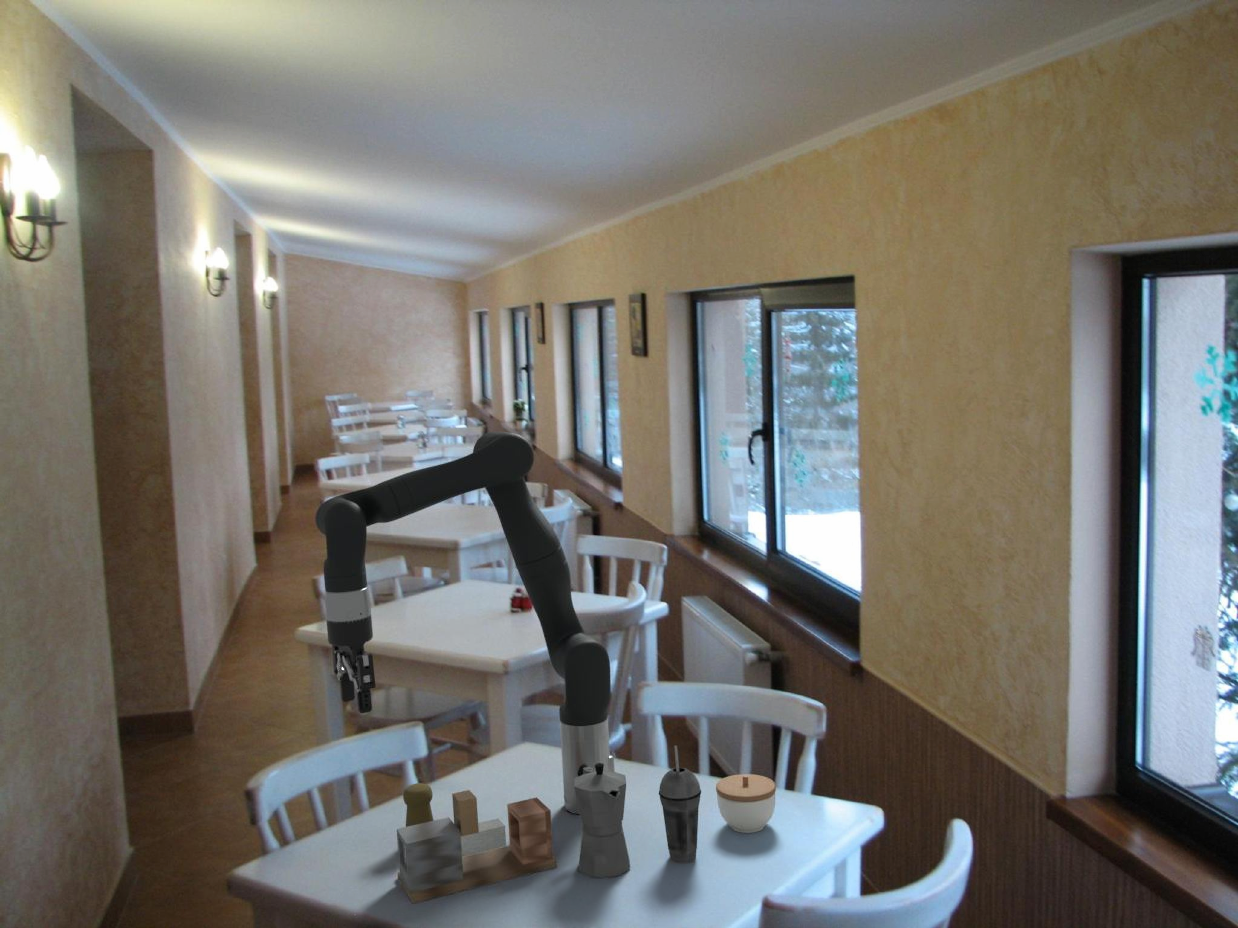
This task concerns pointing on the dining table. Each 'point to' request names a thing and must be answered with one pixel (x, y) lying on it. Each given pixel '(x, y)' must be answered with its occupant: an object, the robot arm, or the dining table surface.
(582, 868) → the coffeepot
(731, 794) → the lidded jar
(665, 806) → the beverage cup
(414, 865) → the block assembly on base
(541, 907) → the dining table surface
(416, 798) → the cork
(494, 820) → the two-tone wooden block
